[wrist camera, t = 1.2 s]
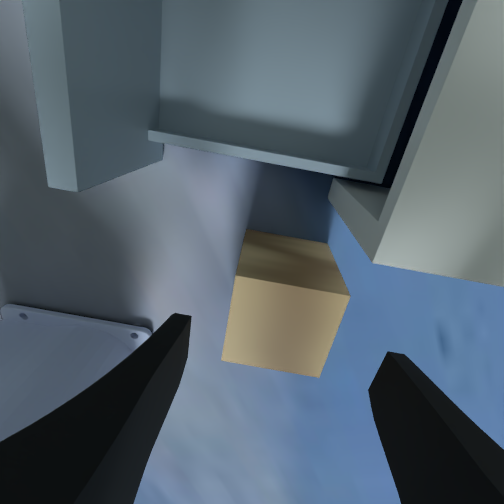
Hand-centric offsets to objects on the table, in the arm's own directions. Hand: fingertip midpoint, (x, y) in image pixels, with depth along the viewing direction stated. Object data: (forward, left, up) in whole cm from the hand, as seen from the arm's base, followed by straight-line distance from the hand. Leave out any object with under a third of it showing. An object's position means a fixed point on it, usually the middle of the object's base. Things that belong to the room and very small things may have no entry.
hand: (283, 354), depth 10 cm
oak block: (0, 0, -6) cm, 6 cm away
